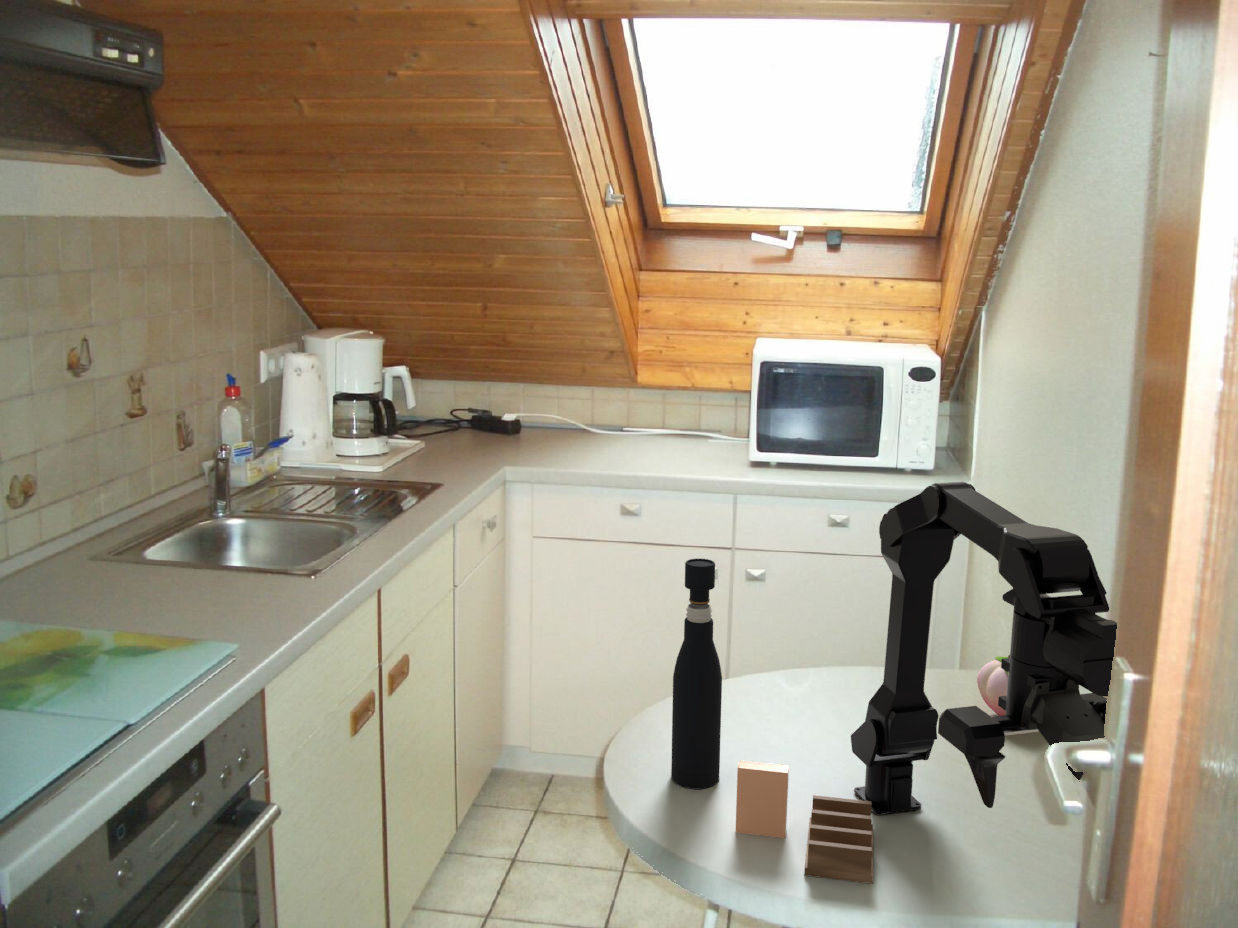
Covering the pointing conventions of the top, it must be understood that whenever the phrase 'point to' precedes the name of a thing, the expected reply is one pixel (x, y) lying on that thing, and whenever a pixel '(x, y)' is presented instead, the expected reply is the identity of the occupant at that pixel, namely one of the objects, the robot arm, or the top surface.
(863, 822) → the rack
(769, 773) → the block
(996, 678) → the decorative fruit
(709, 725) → the wine bottle
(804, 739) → the top surface
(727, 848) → the top surface
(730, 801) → the top surface
